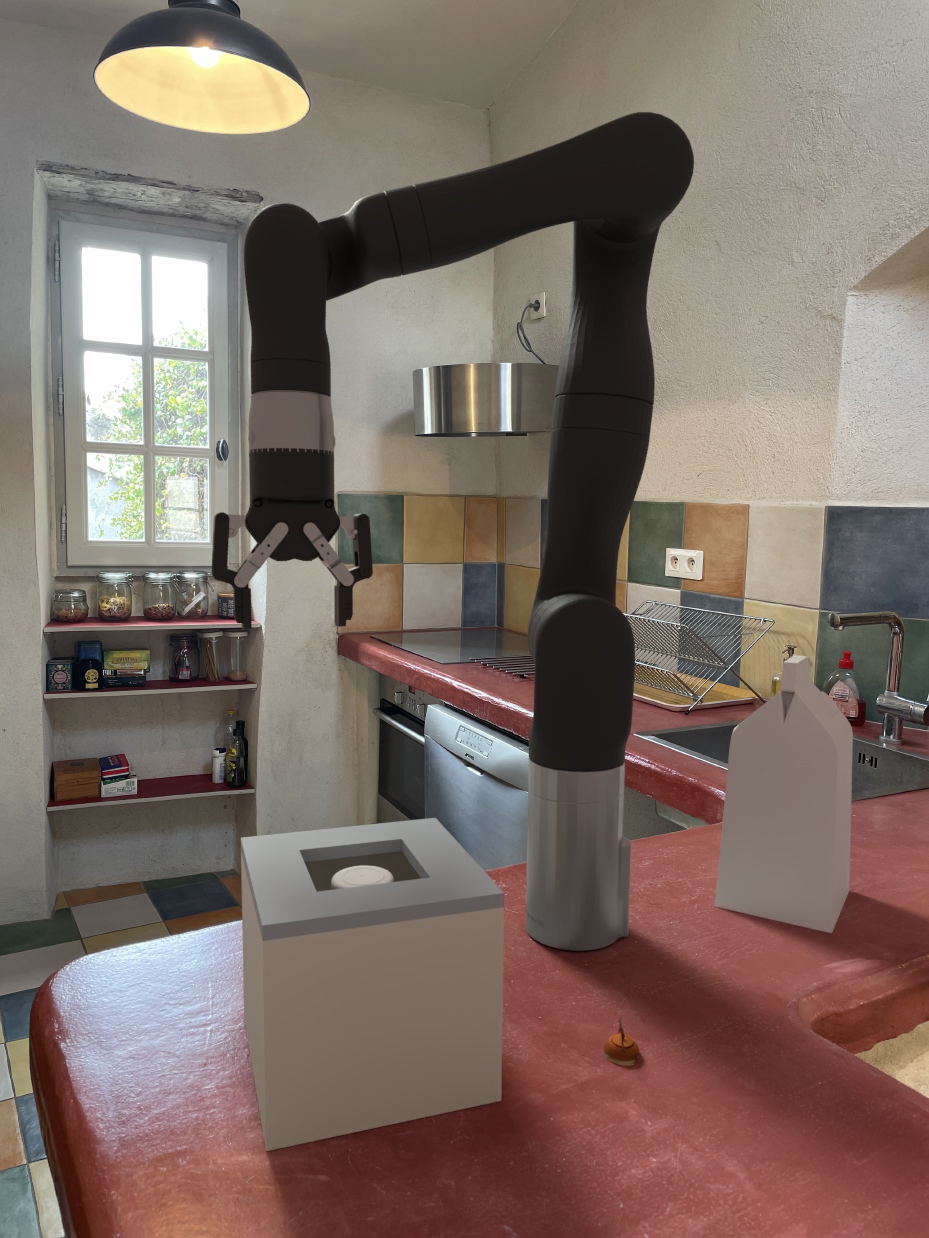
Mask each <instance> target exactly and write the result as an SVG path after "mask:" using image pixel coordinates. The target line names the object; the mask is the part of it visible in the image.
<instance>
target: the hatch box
mask: <svg viewBox="0 0 929 1238" xmlns="http://www.w3.org/2000/svg"><path fill="white" fill-rule="evenodd" d="M240 863H241V864H240V865H241V869H240V870H241V871H240V872H241V915H242V916H241V917H242V918H241V920H242V921H241V923H242V924H241V925H242V927H241V928H242V969H243V970H242V975H243V976H242V978H243V980H242V981H243V984H242V985H243V1019H244V1024H245V1025H244V1027H245V1030H246V1038H247V1044H248V1051H249V1055H250V1061H251V1068H252V1074H253V1080H254V1085H255V1092H256V1098H257V1104H258V1110H259V1111H258V1112H259V1117H260V1122H261V1128H262V1135H263V1141H264V1148H265V1152H268V1151H269V1152H270V1151H275V1150H278V1149H283V1148H288V1147H293V1146H297V1145H303V1144H307V1143H311V1142H315V1141H316V1142H317V1141H321V1140H325V1139H331V1138H334V1137H338V1136H339V1137H340V1136H343V1135H349V1134H353V1133H357V1132H358V1133H359V1132H362V1131H366V1130H367V1131H368V1130H372V1129H377V1128H381V1127H382V1128H383V1127H386V1126H390V1125H395V1124H400V1123H406V1122H411V1121H414V1120H418V1119H422V1118H427V1117H433V1116H437V1115H441V1114H442V1115H443V1114H447V1113H451V1112H455V1111H456V1112H457V1111H460V1110H465V1109H469V1108H473V1107H474V1108H475V1107H478V1106H483V1105H484V1106H485V1105H488V1104H489V1105H490V1104H493V1103H497V1102H502V1080H503V1079H502V1078H503V1076H502V1075H503V1074H502V1073H503V1072H502V1070H503V1069H502V1067H503V1065H502V1064H503V1010H504V1009H503V1005H504V1004H503V1001H504V1000H503V999H504V996H503V995H504V947H505V946H504V945H505V944H504V936H505V935H504V934H505V932H504V931H505V892H504V891H503V890H502V889H501V887H499V885H497V883H496V882H495V881H494V880H493V879H492V878H491V877H490V876H489V874H487V872H486V871H485V870H484V869H483V868H482V867H481V865H479V863H478V862H476V860H475V859H474V858H473V857H472V856H471V855H470V854H469V853H468V852H467V851H466V849H465V848H464V847H463V846H462V845H461V844H460V843H459V842H458V840H456V839H455V837H454V836H453V835H452V834H451V833H450V832H449V831H448V830H447V829H446V827H444V825H443V824H442V823H441V822H440V821H439V820H438V819H437V818H436V817H430V818H428V817H427V818H421V819H410V820H400V821H392V822H391V821H390V822H382V823H380V822H379V823H371V824H362V825H353V826H342V827H333V828H332V827H331V828H323V829H322V828H321V829H313V830H304V831H303V830H302V831H293V832H282V833H275V834H274V833H273V834H267V835H265V834H263V835H254V836H245V837H244V836H243V837H240ZM353 866H376V867H380V868H383V869H386V870H387V871H389V872H390V873H391V874H392V875H393V878H394V882H391V883H383V884H375V885H367V886H359V887H351V888H343V889H335V890H331V881H332V878H333V876H334V875H335V874H336V873H337V872H339V871H341V870H343V869H345V868H349V867H353Z"/></svg>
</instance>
